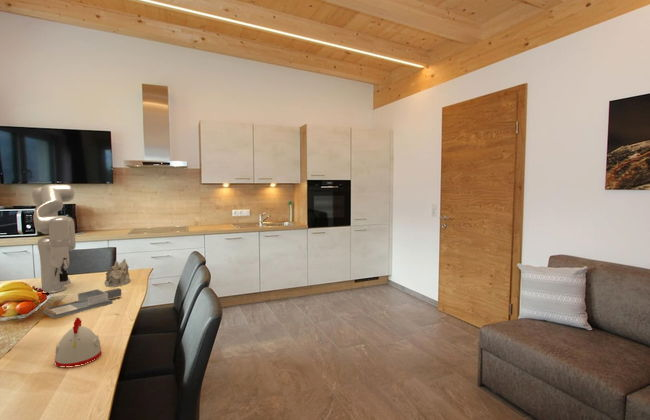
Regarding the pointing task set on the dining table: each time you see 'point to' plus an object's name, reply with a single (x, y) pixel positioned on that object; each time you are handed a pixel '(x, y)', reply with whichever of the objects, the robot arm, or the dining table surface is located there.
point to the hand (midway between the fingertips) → (61, 279)
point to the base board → (71, 308)
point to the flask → (57, 279)
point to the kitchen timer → (77, 346)
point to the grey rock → (117, 275)
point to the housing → (98, 296)
